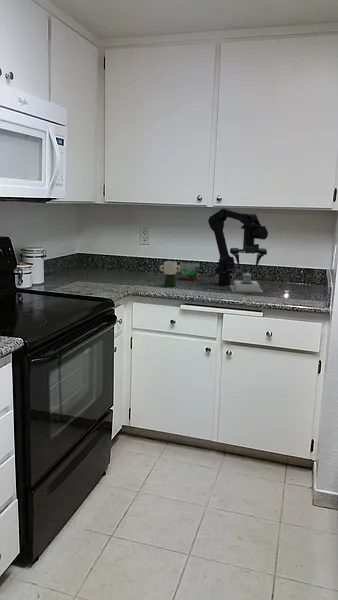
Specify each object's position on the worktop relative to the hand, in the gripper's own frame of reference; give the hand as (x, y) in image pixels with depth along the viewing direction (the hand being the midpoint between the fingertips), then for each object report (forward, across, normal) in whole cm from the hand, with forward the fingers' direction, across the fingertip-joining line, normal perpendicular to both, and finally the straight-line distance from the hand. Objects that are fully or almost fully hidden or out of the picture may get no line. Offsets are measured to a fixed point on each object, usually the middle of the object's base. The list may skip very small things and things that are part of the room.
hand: (247, 267), depth 261 cm
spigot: (+11, 0, 0) cm, 11 cm away
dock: (+12, 0, 0) cm, 12 cm away
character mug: (+12, -41, +5) cm, 43 cm away
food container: (+12, -31, +25) cm, 42 cm away
